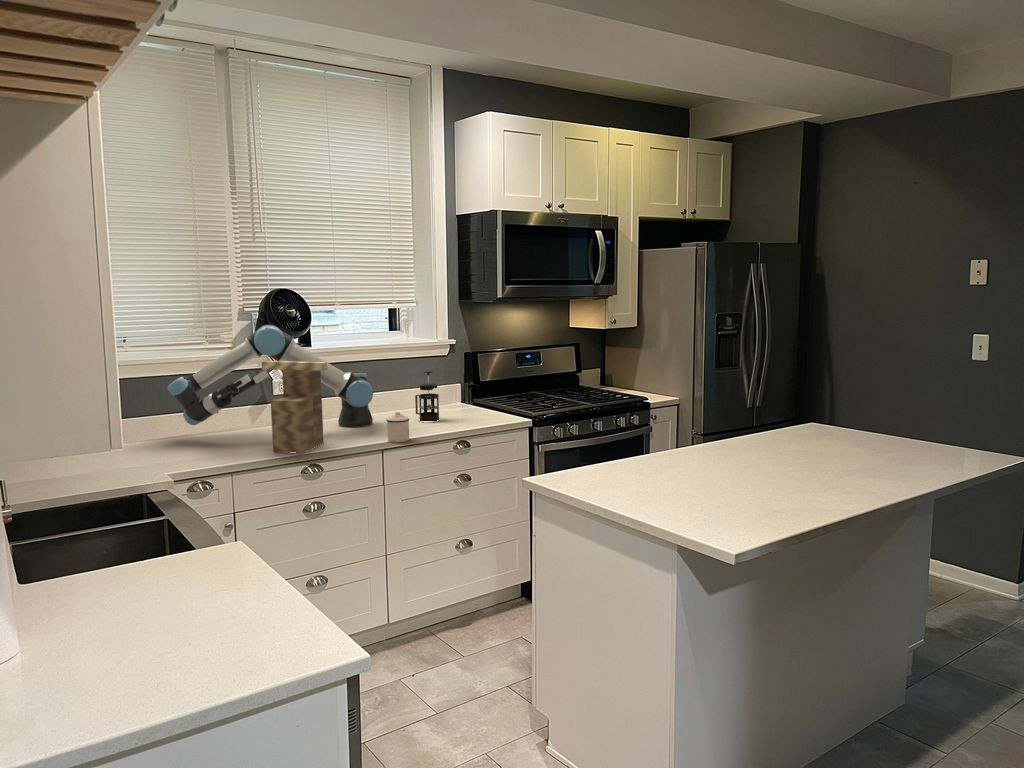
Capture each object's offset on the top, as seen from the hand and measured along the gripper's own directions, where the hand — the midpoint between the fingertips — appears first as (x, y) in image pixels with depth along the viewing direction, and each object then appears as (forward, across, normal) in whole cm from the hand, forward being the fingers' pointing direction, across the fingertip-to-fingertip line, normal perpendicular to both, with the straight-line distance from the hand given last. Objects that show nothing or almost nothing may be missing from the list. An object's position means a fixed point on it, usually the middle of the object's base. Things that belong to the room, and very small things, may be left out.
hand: (258, 375), depth 296 cm
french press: (+30, -56, -50) cm, 81 cm away
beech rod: (+14, 0, -6) cm, 16 cm away
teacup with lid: (+30, -16, -50) cm, 60 cm away
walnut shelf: (+2, +5, -33) cm, 33 cm away
